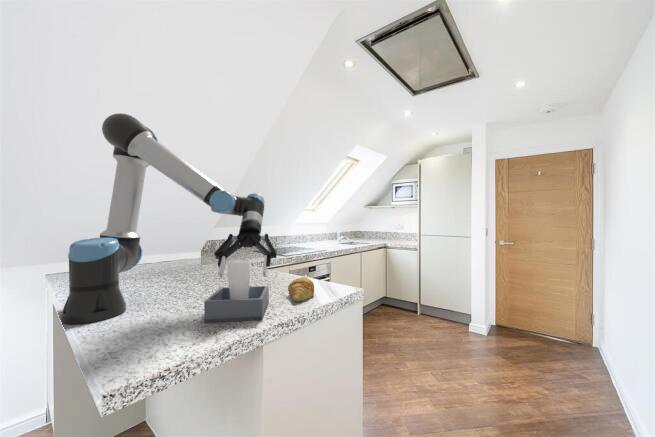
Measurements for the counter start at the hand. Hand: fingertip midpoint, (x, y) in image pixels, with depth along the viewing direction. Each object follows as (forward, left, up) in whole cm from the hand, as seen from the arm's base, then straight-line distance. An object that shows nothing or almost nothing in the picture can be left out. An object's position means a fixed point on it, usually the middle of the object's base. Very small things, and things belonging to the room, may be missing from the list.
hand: (242, 274), depth 87 cm
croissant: (+18, +15, -12) cm, 27 cm away
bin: (-1, -1, -11) cm, 11 cm away
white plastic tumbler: (-1, -1, -11) cm, 11 cm away
